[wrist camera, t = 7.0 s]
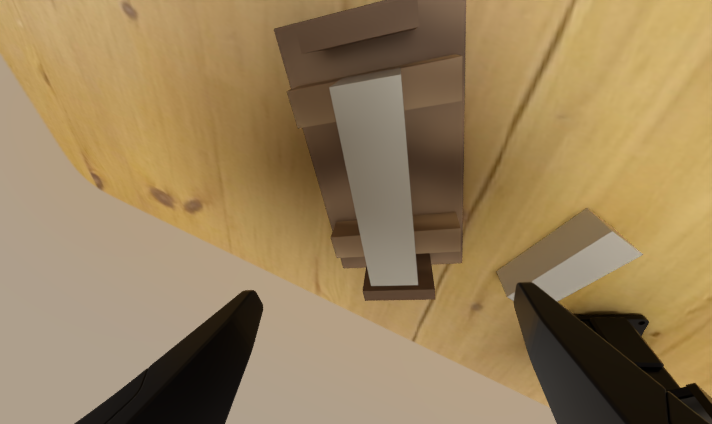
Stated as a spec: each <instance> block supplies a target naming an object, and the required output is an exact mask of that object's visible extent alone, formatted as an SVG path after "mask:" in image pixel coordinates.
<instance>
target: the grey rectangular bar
mask: <svg viewBox="0 0 712 424" xmlns="http://www.w3.org/2000/svg"><path fill="white" fill-rule="evenodd" d="M329 89H330V94H331V98H332V103H333V108H334V113H335V117H336V122H337V127H338V132H339V136H340V141H341V146H342V151H343V155H344V160H345V165H346V170H347V174H348V179H349V184H350V189H351V193H352V198H353V203H354V208H355V212H356V217H357V222H358V227H359V232H360V236H361V241H362V246H363V251H364V255H365V260H366V265H367V270H368V274H369V279H370V284H371V286H399V285H418V276H417V262H416V249H415V236H414V224H413V212H412V199H411V187H410V175H409V162H408V150H407V138H406V125H405V113H404V101H403V88H402V76H401V68H395V69H390V70H385V71H379V72H374V73H369V74H363V75H358V76H352V77H347V78H342V79H340V80H339V81H338V82H336V83H335V84H333V85H332V86H330V87H329Z"/></svg>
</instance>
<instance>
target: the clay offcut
mask: <svg viewBox="0 0 712 424" xmlns="http://www.w3.org/2000/svg"><path fill="white" fill-rule="evenodd" d="M641 255H643V254H642V253H641V252H640V251H639V250H638V249H637V248H635V247H634V246H633V245H632V244H631V243H630V242H629V241H628V240H626V239H625V238H624V237H623V236H622V235H621V234H620V233H619V232H618V231H616V230H615V229H614V228H613V227H611V226H610V225H609V224H607V223H606V222H605V221H603V220H602V219H601V218H600V217H598V216H597V215H596V214H594V213H593V212H592V211H590V210H589V209H588V208H586V209H585V210H583V211H582V212H580V213H579V214H577V215H576V216H575V217H573V218H572V219H570V220H569V221H567V222H566V223H565V224H563V225H562V226H560V227H559V228H557V229H556V230H555V231H553V232H552V233H550V234H549V235H547V236H546V237H545V238H543V239H542V240H540V241H539V242H537V243H536V244H535V245H533V246H532V247H530V248H529V249H527V250H526V251H525V252H523V253H522V254H520V255H519V256H517V257H516V258H515V259H513V260H512V261H510V262H509V263H507V264H506V265H505V266H503V267H502V268H500V269H499V270H497V271H496V272H497V274H498V277H499V279H500V281H501V284H502V286H503V289H504V291H505V294H506V296H507V297H508V298H509V299H511V300H513V301H514V295H515V289H516V284H517V283H518V282H532V283H534V284H536V285H537V286H538V287H539V288H541V289H542V290H543V291H544V292H546V293H547V294H548V295H549V296H551V297H552V298H553V299H554V300H556V301H559V300H561V299H563V298H565V297H567V296H568V295H570V294H572V293H574V292H576V291H578V290H579V289H581V288H583V287H585V286H587V285H588V284H590V283H592V282H594V281H596V280H598V279H599V278H601V277H603V276H605V275H607V274H609V273H610V272H612V271H614V270H616V269H618V268H620V267H621V266H623V265H625V264H627V263H629V262H630V261H632V260H634V259H636V258H638V257H640V256H641Z"/></svg>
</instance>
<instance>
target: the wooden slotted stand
mask: <svg viewBox="0 0 712 424" xmlns="http://www.w3.org/2000/svg"><path fill="white" fill-rule="evenodd" d="M274 32H275V35H276V39H277V42H278V46H279V49H280V52H281V56H282V59H283V63H284V66H285V70H286V73H287V76H288V80H289V83H290V87H291V90H289V91H287V94H288V97H289V101H290V104H291V107H292V111H293V114H294V117H295V121H296V124H297V127H298V128H303V131H304V135H305V138H306V142H307V145H308V148H309V152H310V155H311V159H312V162H313V166H314V169H315V173H316V176H317V179H318V183H319V186H320V190H321V193H322V197H323V200H324V203H325V207H326V210H327V214H328V217H329V221H330V224H331V227H332V231H333V232H332V235H331V240H332V244H333V247H334V250H335V254H336V257H337V258H341V262H342V265H343V268H364V267H366V272H365V279H364V286H363V294H364V298H365V301H368V300H426V299H435V288H434V281H433V273H432V266H431V265H432V264H454V263H462V243H463V174H464V105H465V36H466V0H384V1H380V2H376V3H372V4H368V5H364V6H361V7H357V8H353V9H349V10H345V11H341V12H337V13H334V14H330V15H326V16H322V17H318V18H314V19H310V20H307V21H303V22H299V23H295V24H291V25H287V26H283V27H280V28H276V29H274ZM395 68H401V76H402V88H403V101H404V113H405V125H406V138H407V150H408V162H409V175H410V187H411V199H412V212H413V224H414V236H415V249H416V262H417V276H418V285H399V286H371V284H370V279H369V274H368V270H367V265H366V260H365V255H364V251H363V246H362V241H361V236H360V232H359V227H358V222H357V217H356V212H355V208H354V203H353V198H352V193H351V189H350V184H349V179H348V174H347V170H346V165H345V160H344V155H343V151H342V146H341V141H340V136H339V132H338V127H337V122H336V117H335V113H334V108H333V103H332V98H331V94H330V89H329V87H330V86H332V85H333V84H335V83H336V82H338V81H339V80H340V79H342V78H347V77H352V76H358V75H363V74H369V73H374V72H379V71H385V70H390V69H395Z"/></svg>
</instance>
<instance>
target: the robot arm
mask: <svg viewBox="0 0 712 424" xmlns="http://www.w3.org/2000/svg"><path fill="white" fill-rule="evenodd" d="M514 307H515V311H516V314H517V317H518V321H519V324H520V328H521V331H522V334H523V338H524V341H525V345H526V348H527V351H528V354H529V357H530V360H531V363H532V365H533V368H534V370H535V372H536V375H537V377H538V380H539V382H540V384H541V387H542V389H543V391H544V394H545V396H546V399H547V401H548V403H549V406H550V408H551V411H552V413H553V415H554V418H555V420H556V422H557V424H712V398H711V397H710V396H709V395H708V394H707V393H706V392H704V391H703V390H702V389H701V388H700V387H699V386H698V385H697V384H696V383H692V384H688V385H686V386H687V387H683V388H680V387H679V385H678V384H677V383H676V382H675V380H674V379H673V378H672V377H671V375H670V374H669V373H668V372H667V370H666V369H665V368H664V367H663V366H664V365H663V363H662V362H661V360H660V359H659V358H658V357H657V355H656V354H655V353H654V352H653V350H652V349H651V348H650V347H649V345H648V344H647V343H646V342H645V341H644V339H643V338H642V337H641V336H642V334H643V332H644V330H645V329H646V327H647V325H648V323H649V321H648V320H647V319H646V317H645V316H642V315H607V316H574V315H573V314H572V313H571V312H569V311H568V310H567V309H566V308H564V307H563V306H562V305H561V304H559V303H558V302H557V301H556V300H554V299H553V298H552V297H551V296H549V295H548V294H547V293H546V292H544V291H543V290H542V289H541V288H539V287H538V286H537V285H536V284H534V283H532V282H518V283H517V284H516V289H515V295H514ZM262 312H263V304H262V302H261V300H260V298H259V297H258V295H257V293H256V292H255V291H254V290H245V291H242V292H241V293H240V294H239V295H237V296H236V297H235V298H234V299H232V300H231V301H230V302H229V303H227V304H226V305H225V306H224V307H223V308H221V309H220V310H219V311H218V312H216V313H215V314H214V315H213V316H212V317H210V318H209V319H208V320H206V321H205V322H204V323H203V324H202V325H200V326H199V327H198V328H197V329H195V330H194V331H193V332H192V333H190V334H189V335H188V336H187V337H186V338H184V339H183V340H182V341H180V342H179V343H178V344H177V345H175V346H174V347H173V348H172V349H171V350H169V351H168V352H167V353H166V354H165V355H163V356H162V357H161V358H160V359H158V360H157V361H156V362H154V363H153V364H152V365H151V366H150V367H149V368H148V369H146V370H145V371H143V372H142V373H141V374H140V375H138V376H137V377H136V378H135V379H133V380H132V381H131V382H129V383H128V384H127V385H126V386H124V387H123V388H122V389H121V390H119V391H118V392H117V393H115V394H114V395H113V396H111V397H110V398H109V399H107V400H106V401H105V402H103V403H102V404H101V405H99V406H98V407H97V408H95V409H94V410H93V411H91V412H90V413H89V414H87V415H86V416H84V417H83V418H82V419H80V420H79V421H78V422H76V423H75V424H225V422H226V419H227V417H228V414H229V411H230V409H231V406H232V403H233V401H234V398H235V395H236V393H237V390H238V387H239V385H240V382H241V379H242V376H243V374H244V371H245V368H246V366H247V363H248V360H249V358H250V355H251V352H252V348H253V346H254V342H255V338H256V334H257V331H258V327H259V323H260V320H261V316H262Z"/></svg>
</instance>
